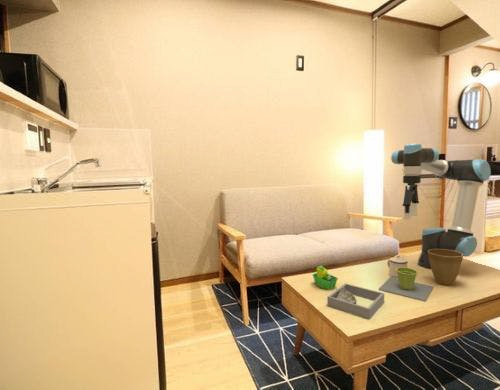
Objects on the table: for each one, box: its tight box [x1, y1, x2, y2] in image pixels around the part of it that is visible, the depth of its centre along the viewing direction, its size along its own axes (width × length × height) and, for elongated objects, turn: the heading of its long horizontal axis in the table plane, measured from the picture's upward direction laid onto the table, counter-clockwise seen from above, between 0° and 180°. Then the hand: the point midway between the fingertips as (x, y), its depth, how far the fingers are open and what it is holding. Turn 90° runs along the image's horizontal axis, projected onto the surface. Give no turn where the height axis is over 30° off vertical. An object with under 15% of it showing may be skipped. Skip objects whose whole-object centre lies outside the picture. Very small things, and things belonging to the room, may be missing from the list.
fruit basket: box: [312, 265, 338, 291], centre depth 144 cm, size 11×9×11 cm
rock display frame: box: [326, 283, 385, 320], centre depth 125 cm, size 19×18×4 cm
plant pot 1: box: [396, 267, 419, 290], centre depth 139 cm, size 9×9×9 cm
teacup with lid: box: [386, 254, 408, 279], centre depth 157 cm, size 12×9×12 cm
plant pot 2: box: [428, 249, 464, 286], centre depth 145 cm, size 15×15×16 cm
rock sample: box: [336, 287, 358, 304], centre depth 125 cm, size 10×8×9 cm
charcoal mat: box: [378, 276, 435, 302], centre depth 139 cm, size 20×20×1 cm
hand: (410, 217), depth 141 cm, fingers open, 13 cm apart
